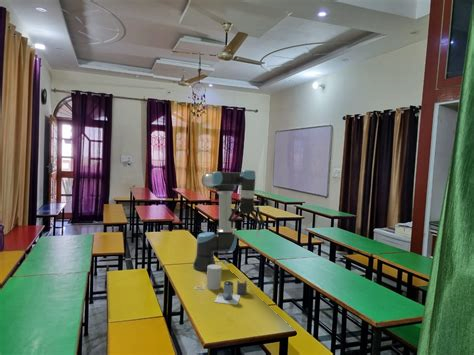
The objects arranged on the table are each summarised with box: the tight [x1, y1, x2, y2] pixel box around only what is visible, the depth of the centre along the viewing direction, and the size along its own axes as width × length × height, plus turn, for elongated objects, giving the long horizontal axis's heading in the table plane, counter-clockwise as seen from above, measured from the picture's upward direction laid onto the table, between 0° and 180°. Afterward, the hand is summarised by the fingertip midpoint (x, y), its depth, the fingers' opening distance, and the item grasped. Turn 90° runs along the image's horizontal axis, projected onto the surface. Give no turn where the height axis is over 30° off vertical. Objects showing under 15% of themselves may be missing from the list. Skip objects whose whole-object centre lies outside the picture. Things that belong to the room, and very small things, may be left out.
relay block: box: [236, 280, 248, 296], centre depth 188 cm, size 5×5×6 cm
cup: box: [206, 264, 223, 291], centre depth 194 cm, size 8×8×12 cm
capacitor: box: [222, 280, 234, 300], centre depth 179 cm, size 5×5×8 cm
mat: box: [213, 292, 242, 306], centre depth 179 cm, size 12×12×1 cm
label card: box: [194, 286, 205, 291], centre depth 192 cm, size 3×5×1 cm, turn 82°
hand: (245, 234), depth 192 cm, fingers open, 13 cm apart
